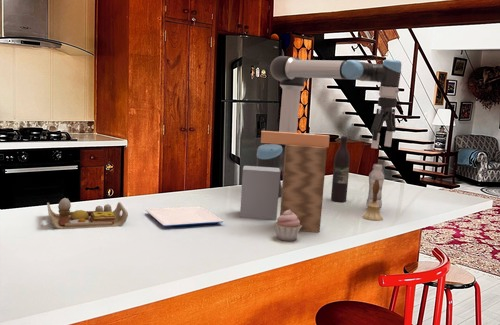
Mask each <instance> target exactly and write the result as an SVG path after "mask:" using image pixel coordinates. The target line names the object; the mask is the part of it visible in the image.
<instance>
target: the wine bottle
mask: <svg viewBox="0 0 500 325" xmlns="http://www.w3.org/2000/svg"><path fill="white" fill-rule="evenodd" d="M347 141H348V136H345V135H342V136H341V137H340V146H339V147H338V150H337V151H336V153H335V155H334V160H333V170H332V171H333V172H332V181H331V194H330V200H331V201H333V202H336V203H345V202H347V198H348V196H347V195H348V186H349V185H348V184H349V175H350V166H351V165H350V164H351V162H350V161H351V156H350V152H349V150H348V147H347Z"/></svg>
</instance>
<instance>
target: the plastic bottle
mask: <svg viewBox="0 0 500 325" xmlns="http://www.w3.org/2000/svg"><path fill="white" fill-rule="evenodd" d="M382 170H383V164H380V163H374V164H373V166H372V170H371V172H369V174H368V195H367V199H366V202H365V203H366V204H365V205H366V206H365V207H366V208H368V205H369V204H371V203H372V200H373V184H374V182H375V180H376V179H377V180H379V192H378V194H377V201H376V204H377V205H379V209H380V210H381V209H382V205H383V200H382V192H383V191H382V190H383V185H384V182H385V174H384V172H383V171H382Z"/></svg>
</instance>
